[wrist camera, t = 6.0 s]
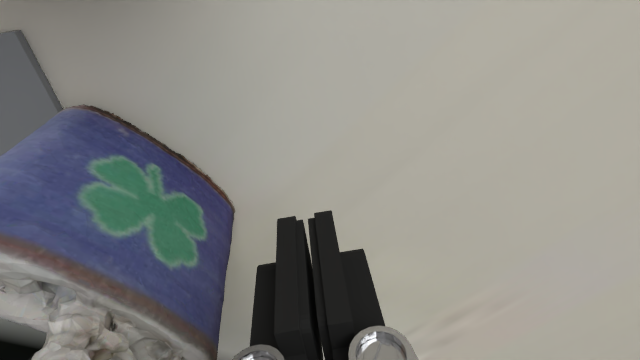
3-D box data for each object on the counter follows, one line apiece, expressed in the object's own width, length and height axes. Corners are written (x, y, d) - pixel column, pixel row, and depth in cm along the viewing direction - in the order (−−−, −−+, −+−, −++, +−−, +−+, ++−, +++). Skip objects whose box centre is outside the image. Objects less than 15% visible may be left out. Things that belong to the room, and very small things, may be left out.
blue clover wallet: (47, 129, 16) (-244, 347, 7) (85, 82, 15) (-181, 253, 6) (214, 237, 20) (179, 460, 11) (250, 204, 19) (245, 413, 10)
